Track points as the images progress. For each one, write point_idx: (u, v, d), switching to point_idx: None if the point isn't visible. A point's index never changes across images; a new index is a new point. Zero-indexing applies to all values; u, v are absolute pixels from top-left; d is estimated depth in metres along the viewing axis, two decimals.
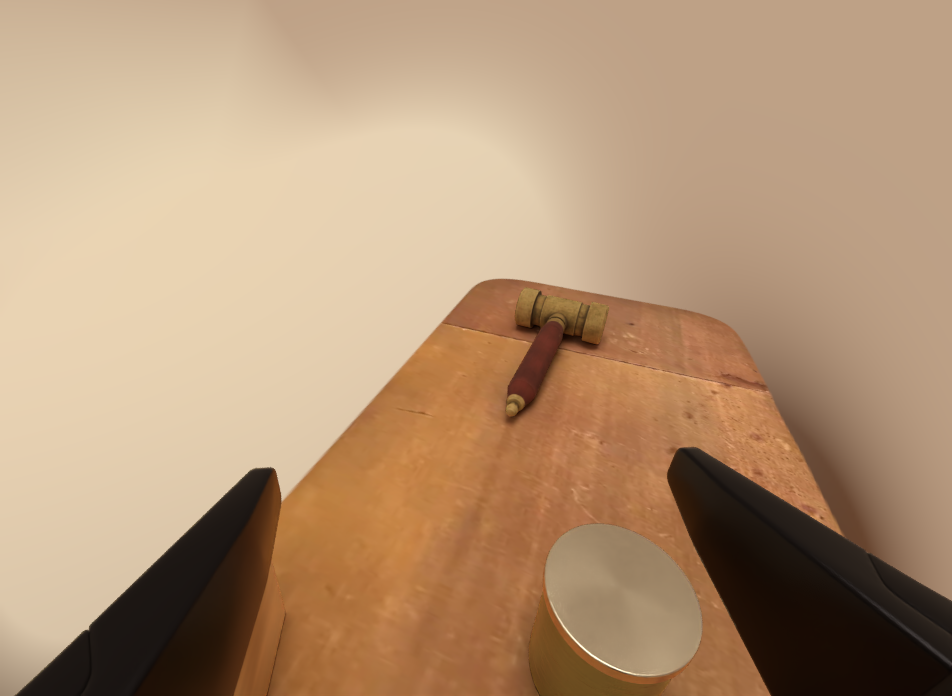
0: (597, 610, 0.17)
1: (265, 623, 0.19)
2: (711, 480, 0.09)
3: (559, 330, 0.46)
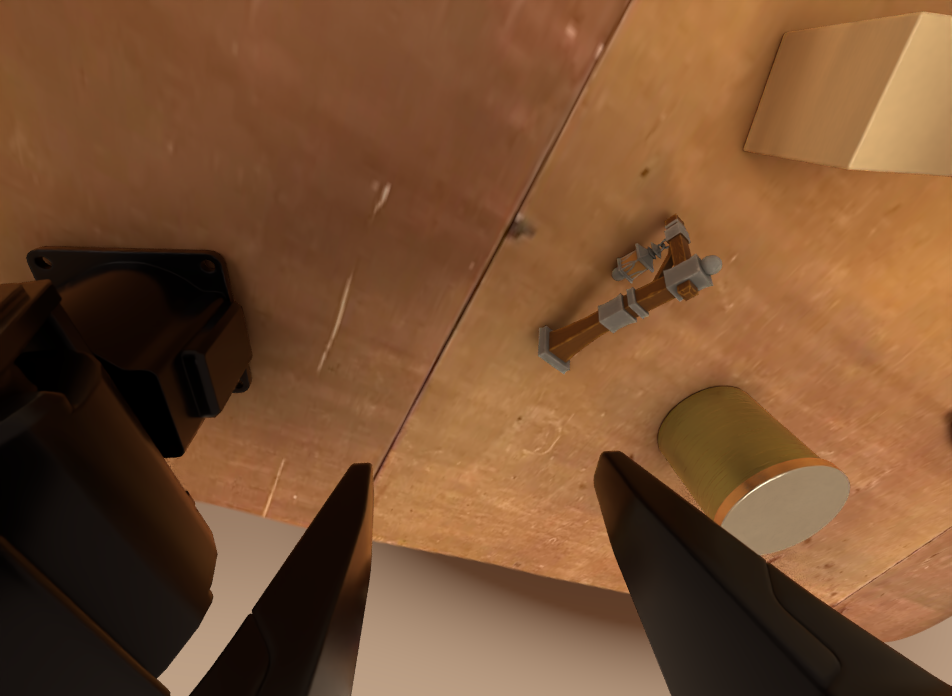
0: (782, 496, 0.20)
1: None
2: (627, 485, 0.09)
3: None
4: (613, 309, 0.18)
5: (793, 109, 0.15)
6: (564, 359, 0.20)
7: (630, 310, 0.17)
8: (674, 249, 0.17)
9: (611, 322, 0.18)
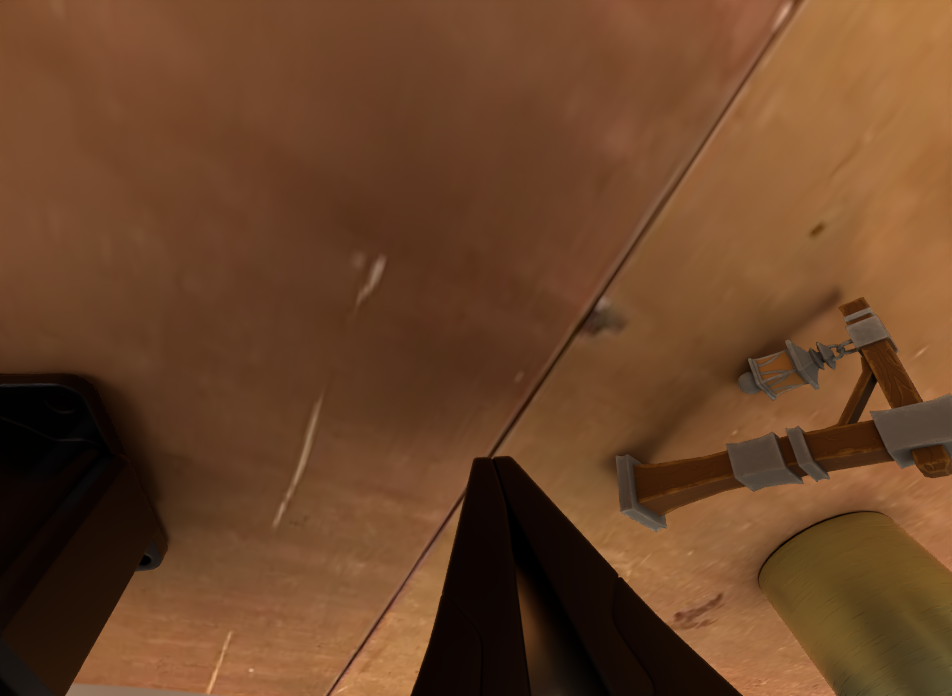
0: None
1: None
2: (504, 493, 0.08)
3: None
4: (762, 460, 0.11)
5: None
6: (659, 512, 0.13)
7: (797, 468, 0.10)
8: (879, 367, 0.10)
9: (755, 479, 0.11)
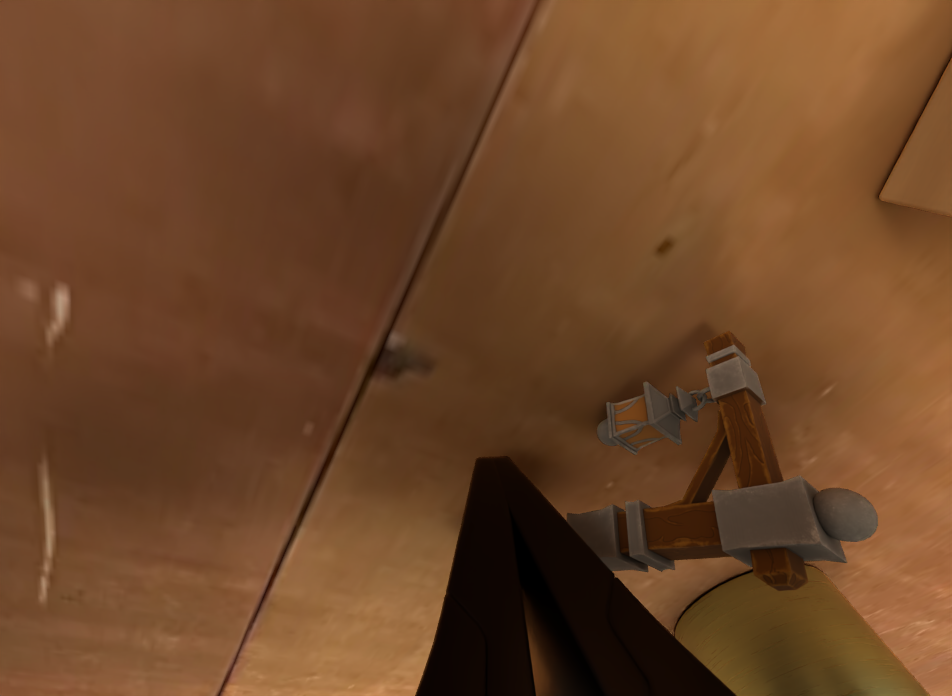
0: None
1: None
2: (501, 493, 0.08)
3: None
4: (597, 542, 0.08)
5: None
6: None
7: (635, 555, 0.08)
8: (733, 427, 0.08)
9: None
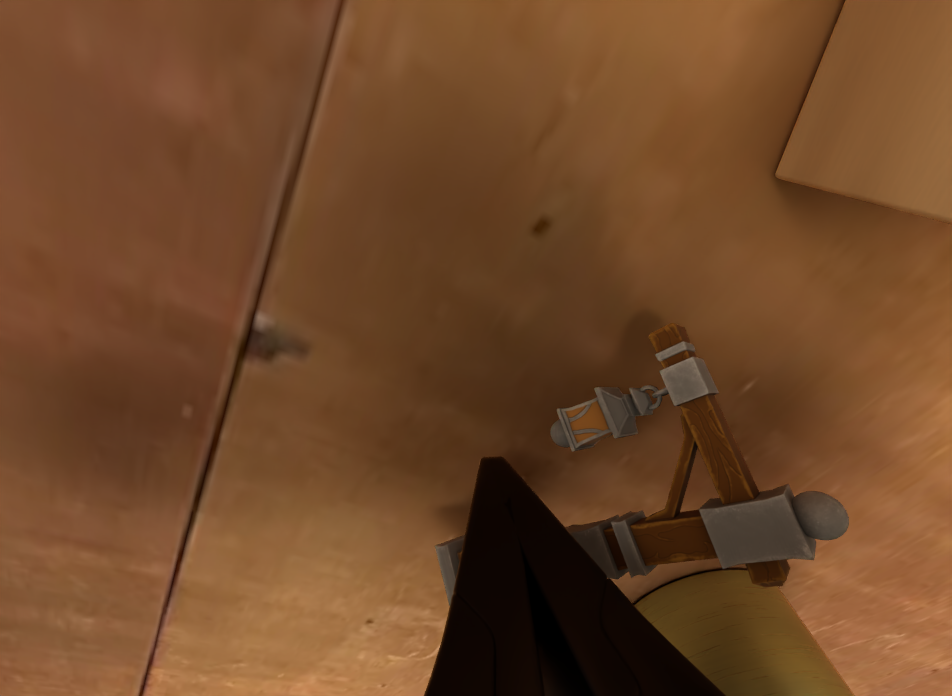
0: None
1: None
2: None
3: None
4: None
5: (932, 68, 0.05)
6: None
7: (629, 564, 0.08)
8: (702, 436, 0.08)
9: None
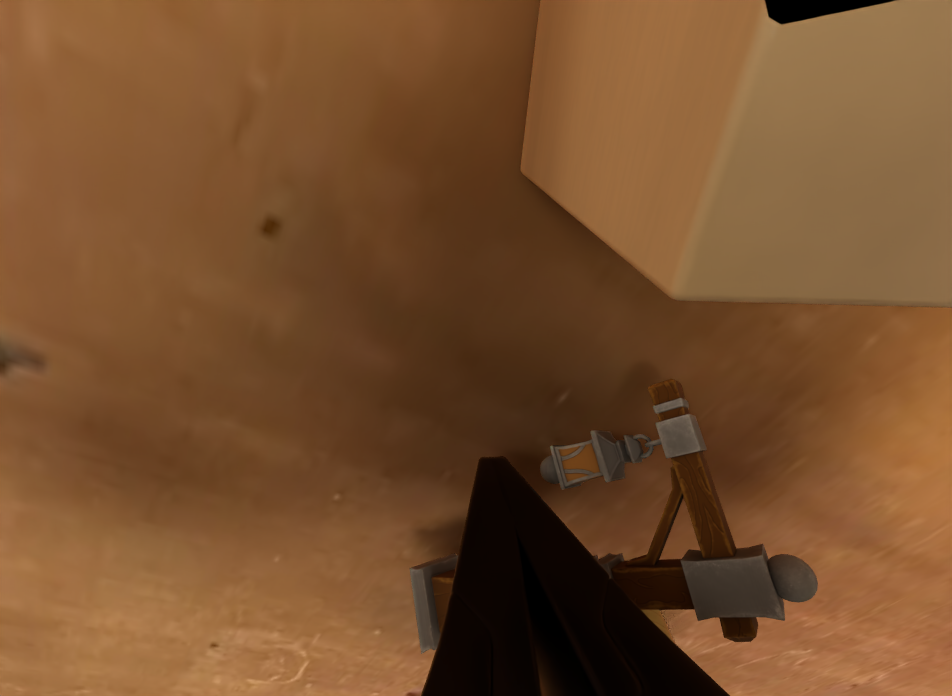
0: None
1: None
2: None
3: None
4: None
5: (570, 45, 0.05)
6: None
7: None
8: (690, 490, 0.08)
9: None
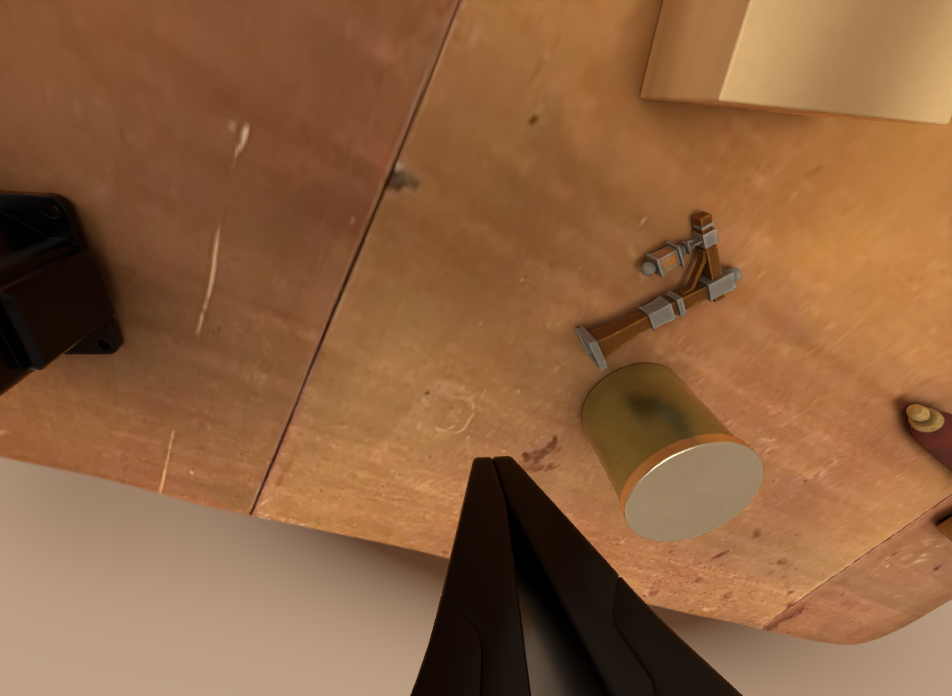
0: (688, 475, 0.18)
1: (835, 116, 0.15)
2: (505, 493, 0.08)
3: None
4: (665, 318, 0.20)
5: (677, 43, 0.14)
6: None
7: (673, 313, 0.21)
8: (710, 258, 0.20)
9: None
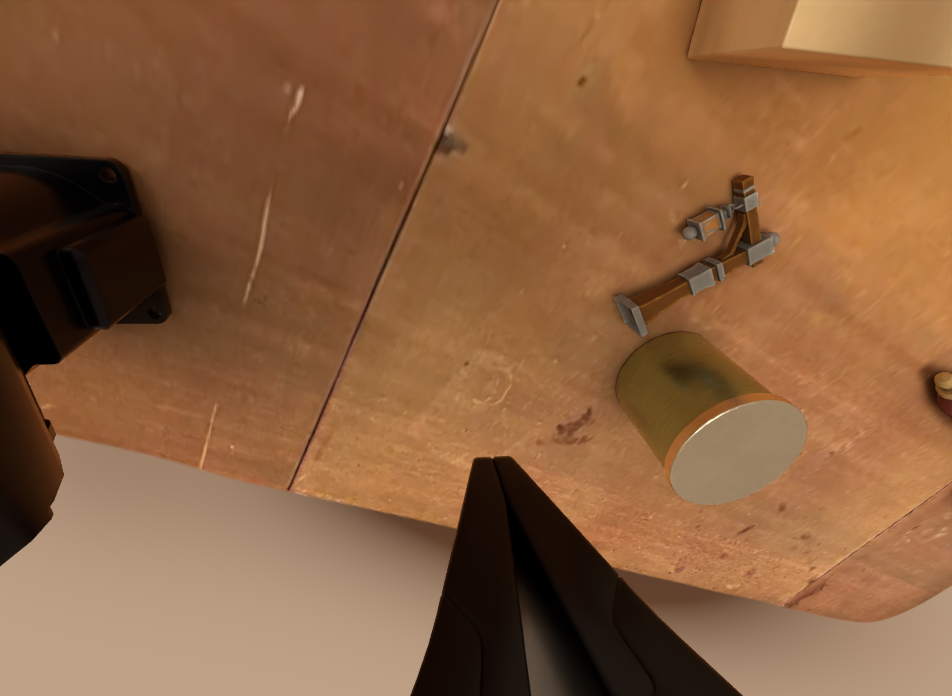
0: (734, 435, 0.19)
1: (885, 70, 0.15)
2: (504, 493, 0.08)
3: None
4: (705, 283, 0.21)
5: None
6: None
7: None
8: (751, 222, 0.20)
9: None
